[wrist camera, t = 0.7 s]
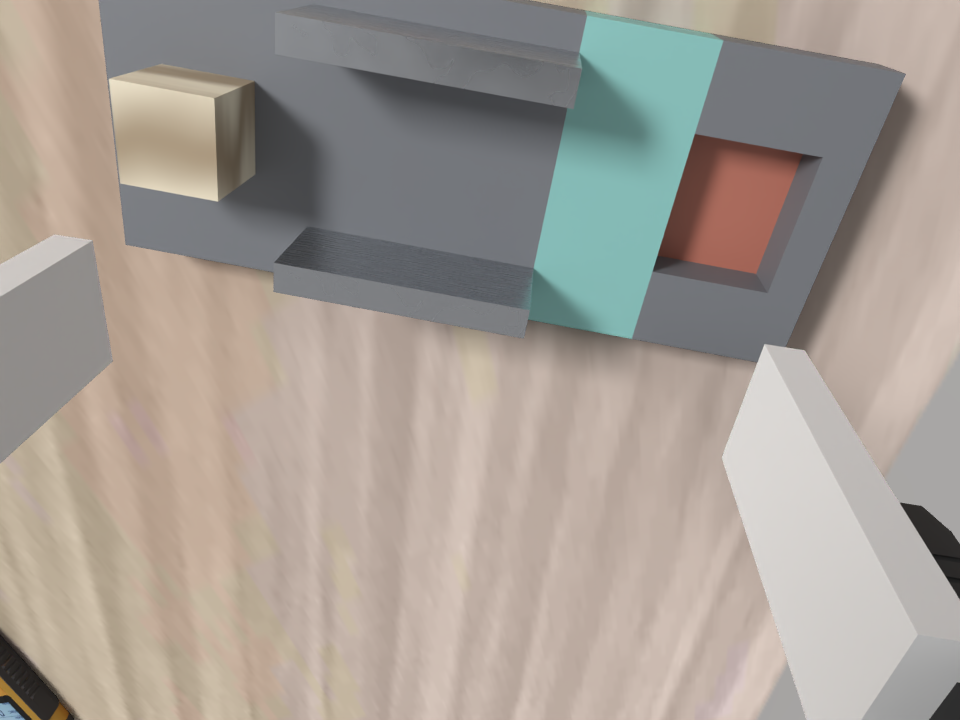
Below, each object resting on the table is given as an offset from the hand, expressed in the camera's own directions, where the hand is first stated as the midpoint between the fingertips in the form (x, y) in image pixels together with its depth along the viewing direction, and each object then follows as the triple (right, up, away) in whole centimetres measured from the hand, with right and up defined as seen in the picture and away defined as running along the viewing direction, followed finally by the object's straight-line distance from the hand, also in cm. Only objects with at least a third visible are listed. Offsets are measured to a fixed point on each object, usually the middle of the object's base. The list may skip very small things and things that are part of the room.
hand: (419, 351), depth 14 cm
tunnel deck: (+1, +11, +23) cm, 25 cm away
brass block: (-12, +12, +20) cm, 26 cm away
